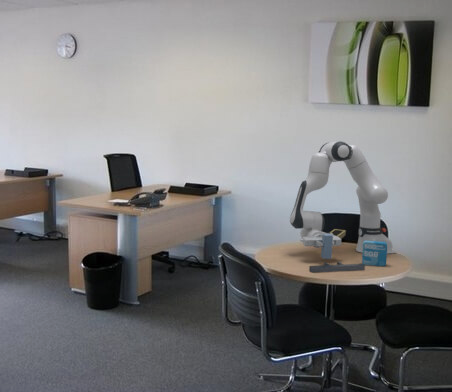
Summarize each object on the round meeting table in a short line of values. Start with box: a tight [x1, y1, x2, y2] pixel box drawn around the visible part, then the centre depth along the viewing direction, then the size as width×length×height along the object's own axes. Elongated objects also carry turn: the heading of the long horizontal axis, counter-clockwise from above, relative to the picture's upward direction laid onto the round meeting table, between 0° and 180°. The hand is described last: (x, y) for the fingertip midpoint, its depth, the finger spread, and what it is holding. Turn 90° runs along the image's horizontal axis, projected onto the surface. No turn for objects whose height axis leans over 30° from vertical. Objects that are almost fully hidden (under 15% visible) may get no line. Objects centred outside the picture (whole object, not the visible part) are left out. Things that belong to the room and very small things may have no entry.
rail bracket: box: [308, 261, 366, 273], centre depth 264 cm, size 28×8×2 cm, turn 103°
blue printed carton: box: [361, 240, 388, 267], centre depth 274 cm, size 12×4×12 cm, turn 75°
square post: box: [320, 234, 333, 260], centre depth 272 cm, size 4×4×12 cm
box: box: [329, 228, 347, 239], centre depth 327 cm, size 8×22×5 cm, turn 146°
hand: (327, 244), depth 271 cm, fingers closed on square post, 4 cm apart
